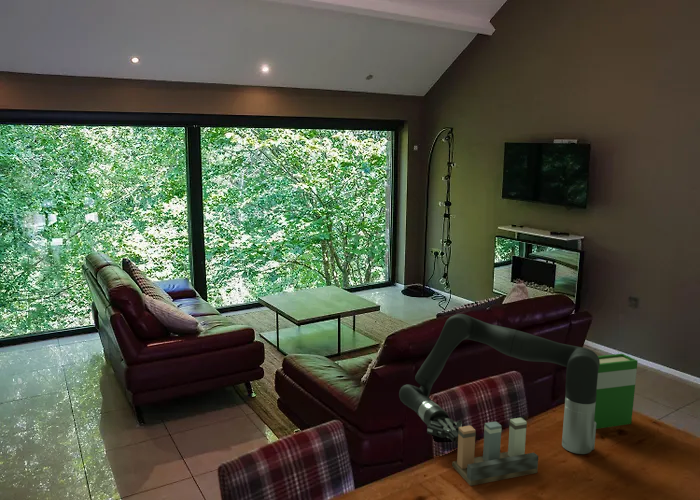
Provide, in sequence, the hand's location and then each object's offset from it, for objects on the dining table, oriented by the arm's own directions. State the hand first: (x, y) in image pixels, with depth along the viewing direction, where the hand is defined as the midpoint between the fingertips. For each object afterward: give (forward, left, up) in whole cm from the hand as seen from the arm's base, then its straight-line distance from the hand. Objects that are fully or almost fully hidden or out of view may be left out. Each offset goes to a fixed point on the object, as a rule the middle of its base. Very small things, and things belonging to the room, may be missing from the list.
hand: (457, 439), depth 174 cm
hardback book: (-64, -8, -8) cm, 65 cm away
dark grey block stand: (-9, +7, -7) cm, 14 cm away
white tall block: (-18, +5, -6) cm, 19 cm away
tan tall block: (0, +5, -6) cm, 8 cm away
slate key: (-9, +5, -6) cm, 12 cm away
